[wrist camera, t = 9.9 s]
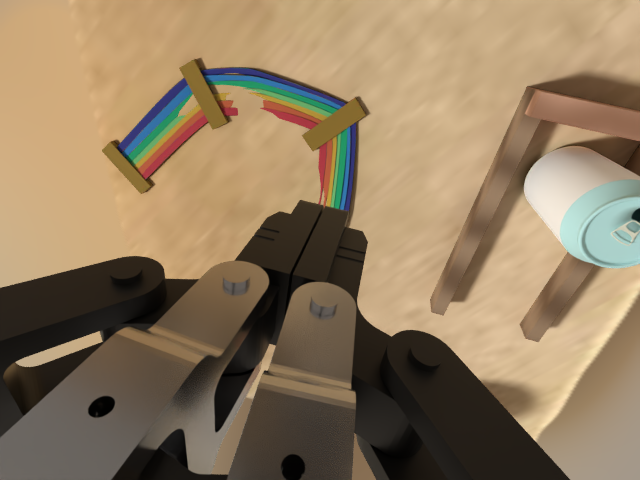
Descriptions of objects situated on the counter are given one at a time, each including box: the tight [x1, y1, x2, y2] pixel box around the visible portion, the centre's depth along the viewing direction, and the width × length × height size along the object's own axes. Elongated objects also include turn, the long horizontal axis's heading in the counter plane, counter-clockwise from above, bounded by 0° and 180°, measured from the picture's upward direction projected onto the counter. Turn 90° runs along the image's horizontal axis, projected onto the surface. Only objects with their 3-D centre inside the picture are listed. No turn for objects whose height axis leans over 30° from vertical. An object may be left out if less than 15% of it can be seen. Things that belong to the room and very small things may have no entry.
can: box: [524, 146, 640, 268], centre depth 30 cm, size 7×7×12 cm
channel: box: [430, 87, 640, 342], centre depth 36 cm, size 26×13×4 cm, turn 170°
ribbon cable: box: [102, 59, 366, 211], centre depth 42 cm, size 29×1×30 cm
